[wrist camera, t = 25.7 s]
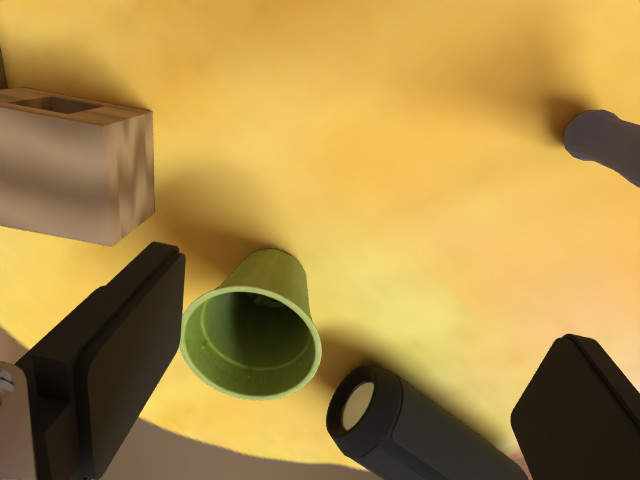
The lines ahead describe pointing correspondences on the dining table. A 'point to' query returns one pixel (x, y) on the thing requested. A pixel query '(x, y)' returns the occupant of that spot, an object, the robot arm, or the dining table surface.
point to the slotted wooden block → (74, 166)
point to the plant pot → (254, 330)
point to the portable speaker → (408, 433)
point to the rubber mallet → (605, 142)
